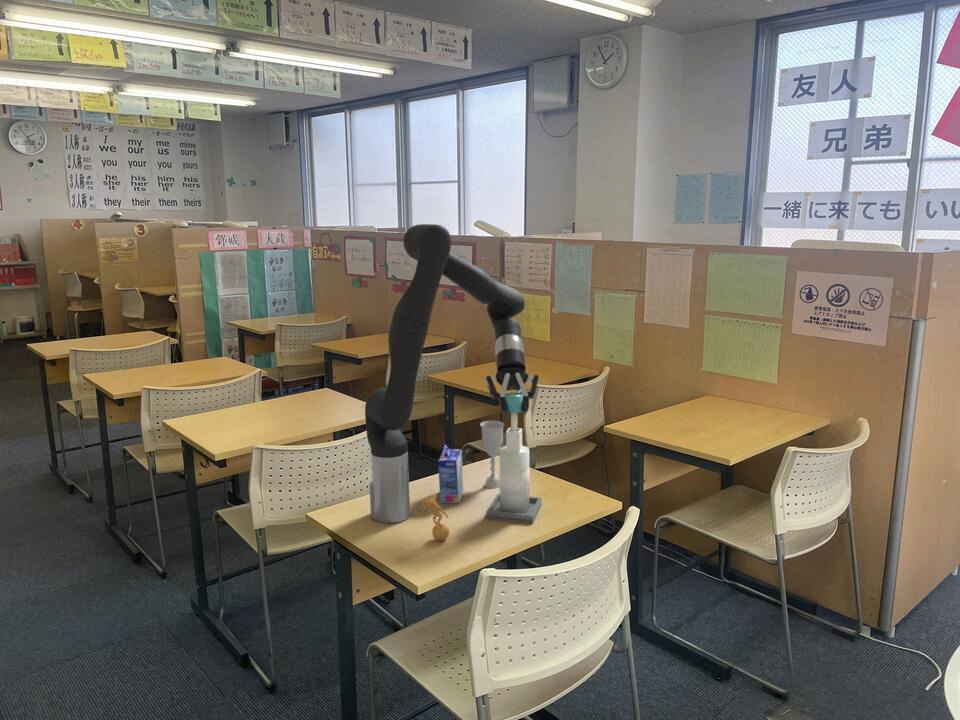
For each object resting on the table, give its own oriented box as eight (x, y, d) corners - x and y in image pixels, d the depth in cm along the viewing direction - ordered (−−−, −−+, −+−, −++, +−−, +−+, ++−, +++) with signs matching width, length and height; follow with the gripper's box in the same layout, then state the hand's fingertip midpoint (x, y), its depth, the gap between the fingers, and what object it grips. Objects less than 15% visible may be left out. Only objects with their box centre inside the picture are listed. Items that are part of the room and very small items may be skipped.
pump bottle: (486, 518, 177) (485, 435, 172) (497, 500, 188) (496, 422, 184) (533, 523, 174) (533, 438, 169) (541, 504, 185) (541, 424, 181)
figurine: (459, 542, 164) (458, 494, 161) (440, 551, 160) (438, 501, 157) (435, 532, 169) (434, 485, 167) (416, 540, 165) (414, 492, 163)
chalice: (478, 481, 202) (477, 421, 199) (501, 479, 204) (500, 419, 200) (484, 490, 195) (483, 428, 192) (508, 488, 197) (507, 426, 193)
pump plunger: (503, 434, 175) (503, 396, 173) (507, 429, 179) (507, 392, 177) (521, 435, 174) (520, 397, 172) (524, 430, 178) (524, 393, 176)
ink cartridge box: (444, 489, 196) (443, 440, 194) (463, 490, 196) (462, 440, 193) (438, 503, 187) (437, 451, 184) (459, 504, 186) (458, 452, 183)
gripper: (483, 348, 180) (486, 405, 170) (538, 346, 180) (545, 403, 171) (482, 364, 186) (485, 420, 176) (535, 362, 187) (542, 418, 177)
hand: (515, 412), depth 174 cm, fingers closed on pump plunger, 4 cm apart
